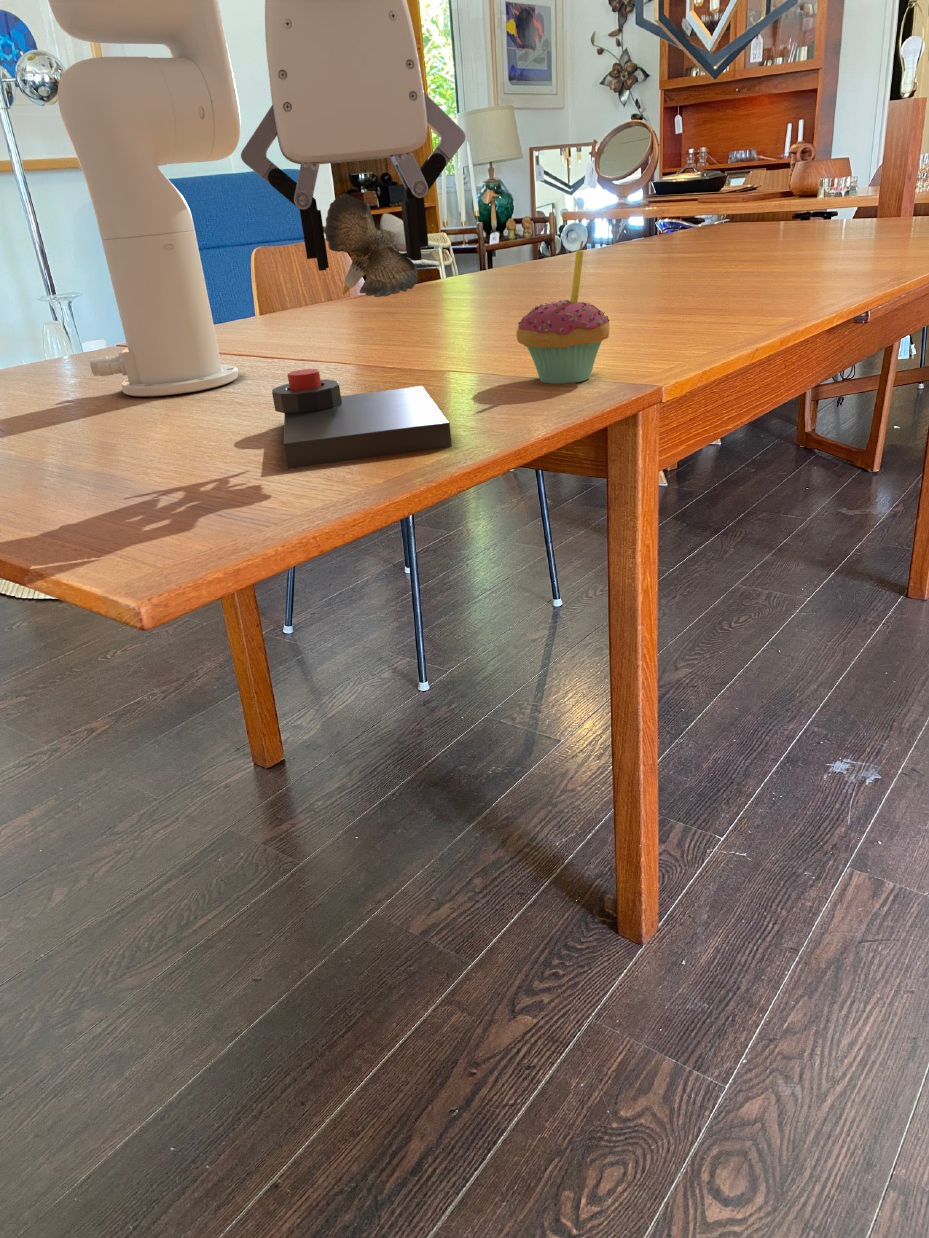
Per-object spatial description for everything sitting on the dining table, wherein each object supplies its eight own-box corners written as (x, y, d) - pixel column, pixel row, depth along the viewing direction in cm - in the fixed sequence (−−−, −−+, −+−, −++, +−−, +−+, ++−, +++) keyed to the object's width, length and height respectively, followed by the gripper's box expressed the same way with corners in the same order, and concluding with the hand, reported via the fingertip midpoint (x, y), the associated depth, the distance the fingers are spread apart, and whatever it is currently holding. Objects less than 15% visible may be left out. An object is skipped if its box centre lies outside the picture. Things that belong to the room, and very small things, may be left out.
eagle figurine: (299, 277, 69) (301, 259, 60) (338, 188, 68) (346, 157, 59) (390, 325, 71) (405, 314, 62) (429, 239, 70) (449, 216, 61)
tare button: (290, 396, 74) (287, 376, 73) (290, 390, 76) (287, 371, 75) (322, 392, 74) (319, 372, 73) (321, 386, 76) (318, 367, 76)
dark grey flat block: (277, 471, 65) (268, 422, 63) (279, 425, 79) (272, 384, 77) (452, 448, 66) (447, 400, 65) (424, 407, 80) (420, 366, 79)
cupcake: (608, 367, 89) (605, 235, 84) (612, 385, 81) (610, 241, 76) (521, 374, 90) (513, 244, 85) (517, 392, 82) (508, 250, 77)
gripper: (454, -32, 62) (476, 249, 70) (199, -14, 60) (250, 274, 68) (474, -61, 55) (496, 254, 63) (187, -42, 53) (246, 281, 61)
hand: (368, 261), depth 65 cm, fingers closed on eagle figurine, 6 cm apart
